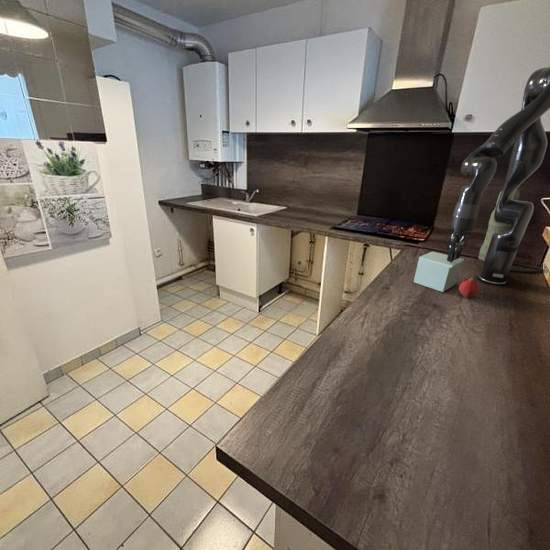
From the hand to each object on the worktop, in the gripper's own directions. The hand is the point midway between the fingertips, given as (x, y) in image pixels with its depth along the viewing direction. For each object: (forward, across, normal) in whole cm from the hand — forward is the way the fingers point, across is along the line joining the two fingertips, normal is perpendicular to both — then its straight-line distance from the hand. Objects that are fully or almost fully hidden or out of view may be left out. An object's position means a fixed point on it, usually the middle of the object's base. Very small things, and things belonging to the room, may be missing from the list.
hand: (453, 259), depth 112 cm
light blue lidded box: (+12, 0, +4) cm, 12 cm away
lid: (+1, 0, +4) cm, 4 cm away
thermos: (+12, +52, 0) cm, 54 cm away
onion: (+12, -4, -9) cm, 15 cm away
